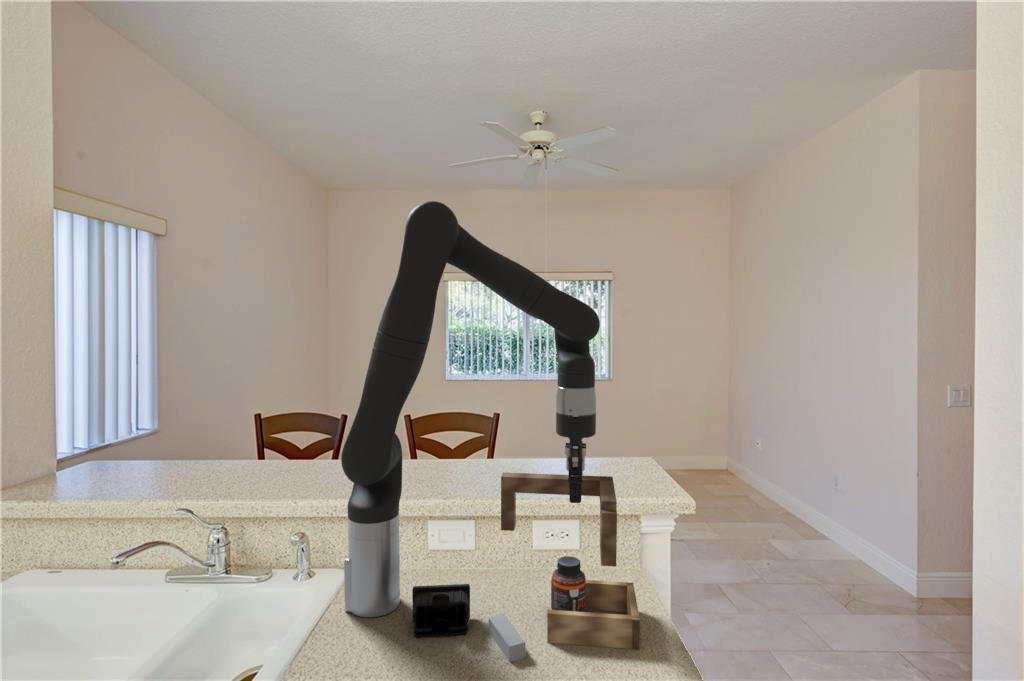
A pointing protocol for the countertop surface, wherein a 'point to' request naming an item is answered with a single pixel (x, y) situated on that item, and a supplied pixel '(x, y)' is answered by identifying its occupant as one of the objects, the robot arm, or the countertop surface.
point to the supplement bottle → (568, 586)
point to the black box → (441, 610)
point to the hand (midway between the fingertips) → (575, 498)
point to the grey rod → (507, 638)
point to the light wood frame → (599, 618)
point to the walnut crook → (560, 486)
